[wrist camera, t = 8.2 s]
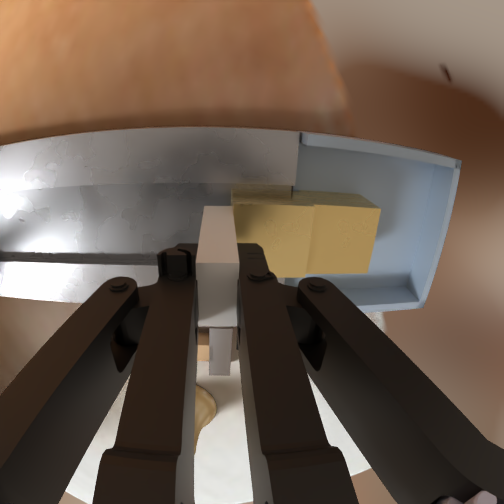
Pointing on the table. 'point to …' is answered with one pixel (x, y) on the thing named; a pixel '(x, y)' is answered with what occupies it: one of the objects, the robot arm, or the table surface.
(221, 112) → the table surface
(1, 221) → the slot board
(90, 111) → the table surface
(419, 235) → the tray
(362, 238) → the chip
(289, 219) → the yellow square block
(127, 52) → the table surface
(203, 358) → the hammer
